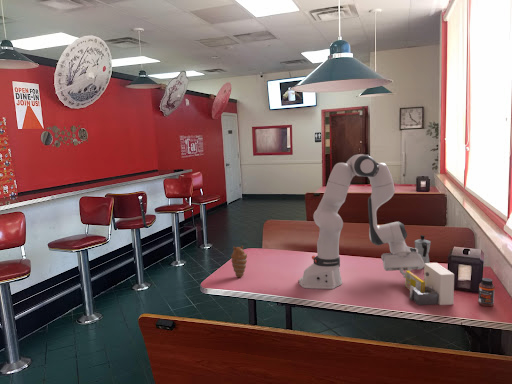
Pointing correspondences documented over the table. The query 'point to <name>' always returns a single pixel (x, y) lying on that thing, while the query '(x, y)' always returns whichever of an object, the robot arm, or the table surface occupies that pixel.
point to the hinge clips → (424, 296)
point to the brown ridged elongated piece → (239, 261)
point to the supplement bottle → (486, 292)
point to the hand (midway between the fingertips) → (407, 277)
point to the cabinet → (440, 282)
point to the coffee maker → (423, 248)
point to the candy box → (414, 282)
